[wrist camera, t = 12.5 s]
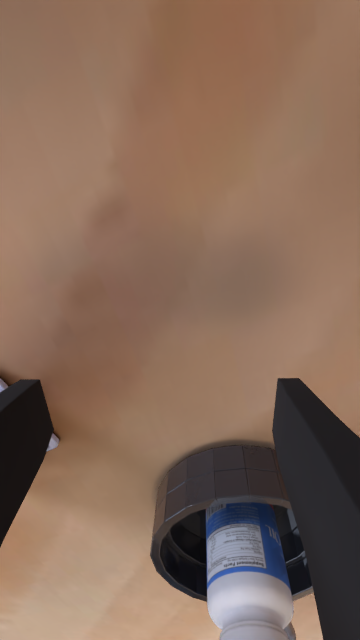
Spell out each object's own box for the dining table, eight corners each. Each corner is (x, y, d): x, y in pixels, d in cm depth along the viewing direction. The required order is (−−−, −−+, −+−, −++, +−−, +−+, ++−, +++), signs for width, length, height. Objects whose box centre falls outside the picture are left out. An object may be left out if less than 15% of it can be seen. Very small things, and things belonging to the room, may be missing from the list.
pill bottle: (274, 524, 28) (308, 690, 20) (210, 528, 29) (215, 690, 20) (270, 479, 26) (306, 647, 17) (200, 485, 27) (201, 649, 18)
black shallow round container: (204, 561, 32) (205, 620, 28) (126, 473, 27) (113, 530, 23) (345, 524, 29) (369, 585, 25) (284, 415, 24) (302, 470, 20)
